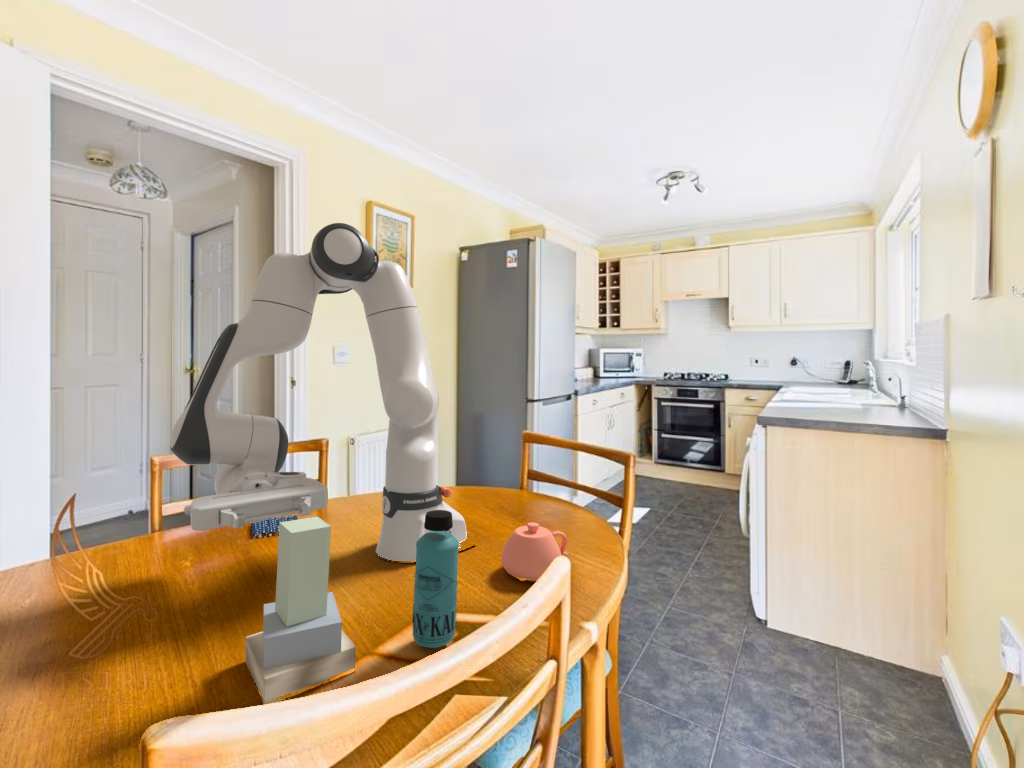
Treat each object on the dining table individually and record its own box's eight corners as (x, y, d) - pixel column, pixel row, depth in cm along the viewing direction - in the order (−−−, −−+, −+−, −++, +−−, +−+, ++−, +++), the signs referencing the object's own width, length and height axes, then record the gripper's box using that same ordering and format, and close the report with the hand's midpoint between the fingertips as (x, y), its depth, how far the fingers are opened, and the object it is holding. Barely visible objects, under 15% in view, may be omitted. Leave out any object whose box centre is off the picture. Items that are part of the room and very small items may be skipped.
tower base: (326, 637, 72) (327, 611, 71) (355, 675, 63) (355, 646, 63) (245, 665, 65) (245, 636, 64) (264, 712, 56) (265, 679, 56)
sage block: (312, 600, 67) (317, 516, 67) (326, 615, 63) (331, 526, 63) (275, 610, 63) (279, 522, 63) (287, 626, 60) (291, 533, 60)
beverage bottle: (414, 633, 73) (417, 505, 72) (457, 632, 73) (461, 505, 72) (408, 659, 66) (412, 519, 65) (455, 658, 67) (460, 519, 66)
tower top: (331, 618, 70) (332, 591, 70) (341, 651, 62) (341, 622, 62) (263, 632, 66) (263, 604, 65) (263, 670, 58) (264, 638, 57)
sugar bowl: (495, 562, 100) (497, 515, 99) (558, 559, 103) (560, 512, 102) (508, 590, 88) (510, 536, 87) (578, 585, 91) (581, 532, 91)
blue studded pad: (250, 527, 116) (250, 519, 116) (297, 521, 122) (297, 514, 122) (250, 541, 107) (250, 533, 107) (301, 535, 113) (301, 526, 112)
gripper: (181, 487, 76) (193, 508, 66) (312, 470, 90) (339, 485, 79) (182, 525, 77) (194, 552, 66) (312, 503, 90) (339, 522, 79)
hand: (274, 516), depth 73 cm, fingers open, 8 cm apart
